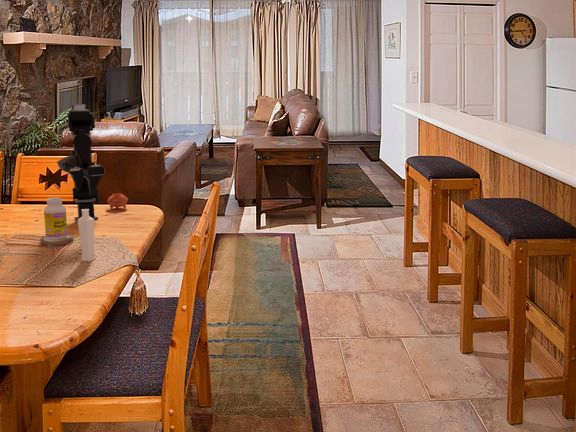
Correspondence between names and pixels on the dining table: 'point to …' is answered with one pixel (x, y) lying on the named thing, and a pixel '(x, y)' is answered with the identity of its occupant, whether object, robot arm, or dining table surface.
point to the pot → (117, 200)
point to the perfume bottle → (86, 235)
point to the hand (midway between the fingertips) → (85, 192)
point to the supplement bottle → (55, 219)
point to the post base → (56, 241)
